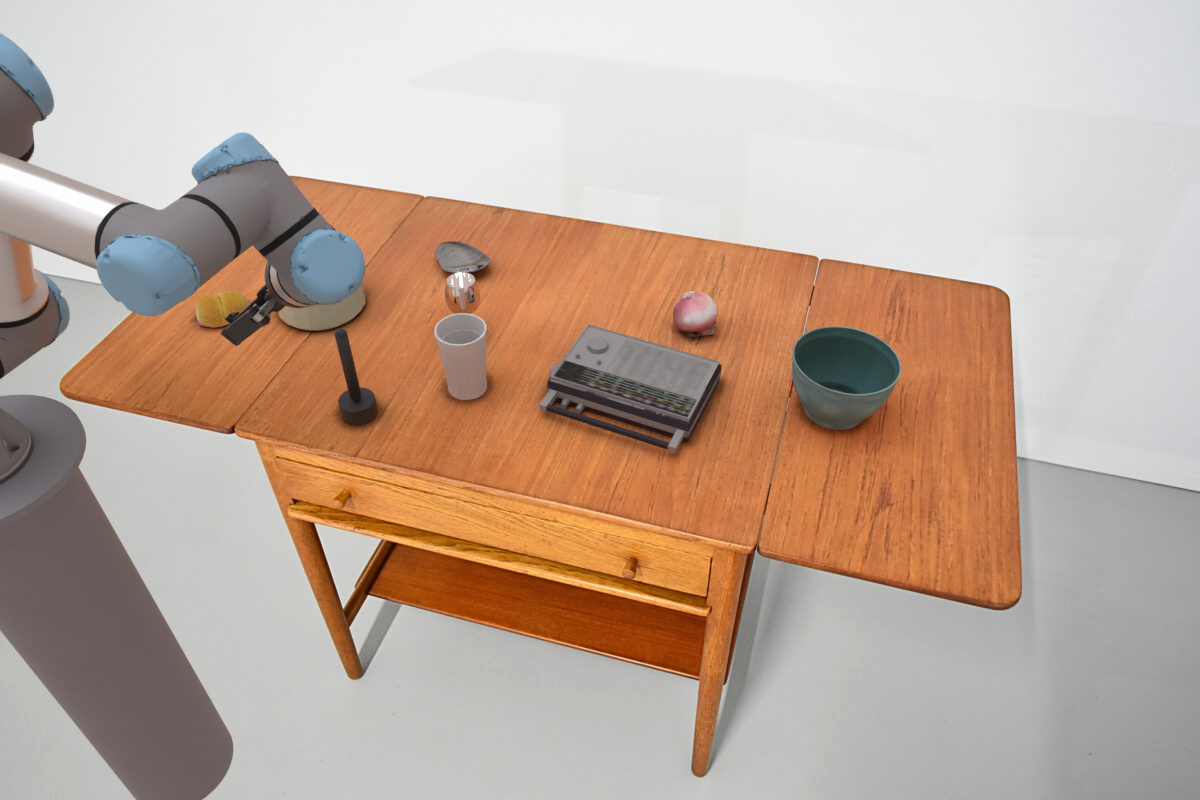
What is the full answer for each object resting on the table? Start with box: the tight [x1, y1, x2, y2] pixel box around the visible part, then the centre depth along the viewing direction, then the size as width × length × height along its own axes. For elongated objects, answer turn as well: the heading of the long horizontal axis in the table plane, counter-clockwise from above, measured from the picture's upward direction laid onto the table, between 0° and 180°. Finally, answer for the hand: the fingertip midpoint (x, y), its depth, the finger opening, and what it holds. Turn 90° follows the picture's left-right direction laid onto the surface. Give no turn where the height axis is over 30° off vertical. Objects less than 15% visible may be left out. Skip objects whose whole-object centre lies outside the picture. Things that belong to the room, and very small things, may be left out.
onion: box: [672, 290, 719, 338], centre depth 155 cm, size 8×8×7 cm
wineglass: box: [444, 272, 481, 314], centre depth 151 cm, size 6×6×12 cm
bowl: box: [277, 280, 367, 332], centre depth 159 cm, size 15×15×6 cm
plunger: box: [334, 327, 379, 427], centre depth 135 cm, size 6×6×17 cm
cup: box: [433, 313, 488, 401], centre depth 142 cm, size 8×8×12 cm
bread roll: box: [194, 290, 250, 328], centre depth 158 cm, size 8×9×4 cm
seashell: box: [433, 240, 492, 274], centre depth 168 cm, size 12×8×5 cm
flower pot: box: [791, 325, 902, 431], centre depth 139 cm, size 16×16×11 cm
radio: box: [538, 324, 722, 454], centre depth 143 cm, size 24×5×20 cm
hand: (270, 285), depth 124 cm, fingers open, 13 cm apart
